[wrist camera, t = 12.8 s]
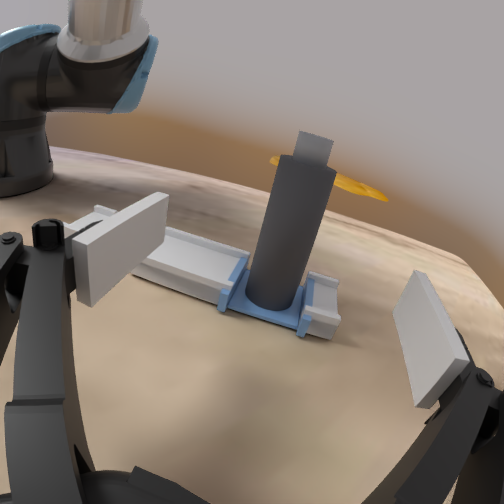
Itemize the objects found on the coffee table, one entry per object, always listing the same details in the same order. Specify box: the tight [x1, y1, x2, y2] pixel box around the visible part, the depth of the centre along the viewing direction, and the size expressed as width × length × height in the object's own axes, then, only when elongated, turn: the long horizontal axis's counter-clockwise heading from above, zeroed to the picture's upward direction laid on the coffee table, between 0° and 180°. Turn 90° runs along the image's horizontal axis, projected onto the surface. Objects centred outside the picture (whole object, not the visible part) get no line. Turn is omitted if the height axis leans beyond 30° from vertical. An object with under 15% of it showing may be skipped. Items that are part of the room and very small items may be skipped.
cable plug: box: [245, 131, 337, 311], centre depth 22 cm, size 4×4×13 cm
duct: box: [63, 205, 341, 340], centre depth 25 cm, size 25×7×2 cm, turn 76°
